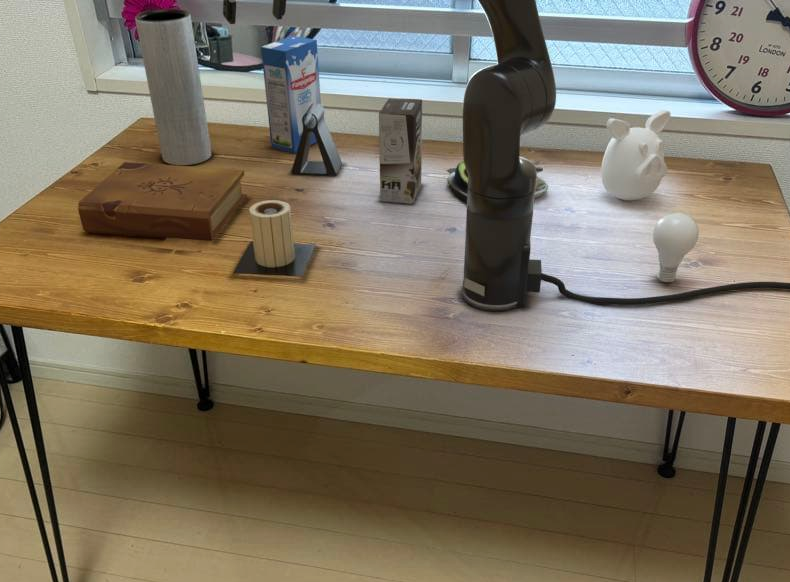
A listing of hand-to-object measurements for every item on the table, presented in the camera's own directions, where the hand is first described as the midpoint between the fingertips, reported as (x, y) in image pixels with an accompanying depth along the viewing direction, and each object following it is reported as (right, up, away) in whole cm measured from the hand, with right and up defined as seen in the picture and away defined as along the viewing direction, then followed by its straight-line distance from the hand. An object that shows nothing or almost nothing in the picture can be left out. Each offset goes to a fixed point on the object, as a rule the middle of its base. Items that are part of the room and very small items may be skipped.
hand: (254, 19), depth 134 cm
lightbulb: (+65, -45, -10) cm, 79 cm away
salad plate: (+42, -24, +18) cm, 51 cm away
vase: (-20, -13, +33) cm, 41 cm away
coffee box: (+24, -24, +17) cm, 39 cm away
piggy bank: (+66, -26, +15) cm, 73 cm away
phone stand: (+8, -17, +27) cm, 33 cm away
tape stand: (+4, -41, -4) cm, 41 cm away
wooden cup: (+4, -40, -4) cm, 41 cm away
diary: (-17, -30, +11) cm, 36 cm away
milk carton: (+2, -8, +39) cm, 40 cm away
